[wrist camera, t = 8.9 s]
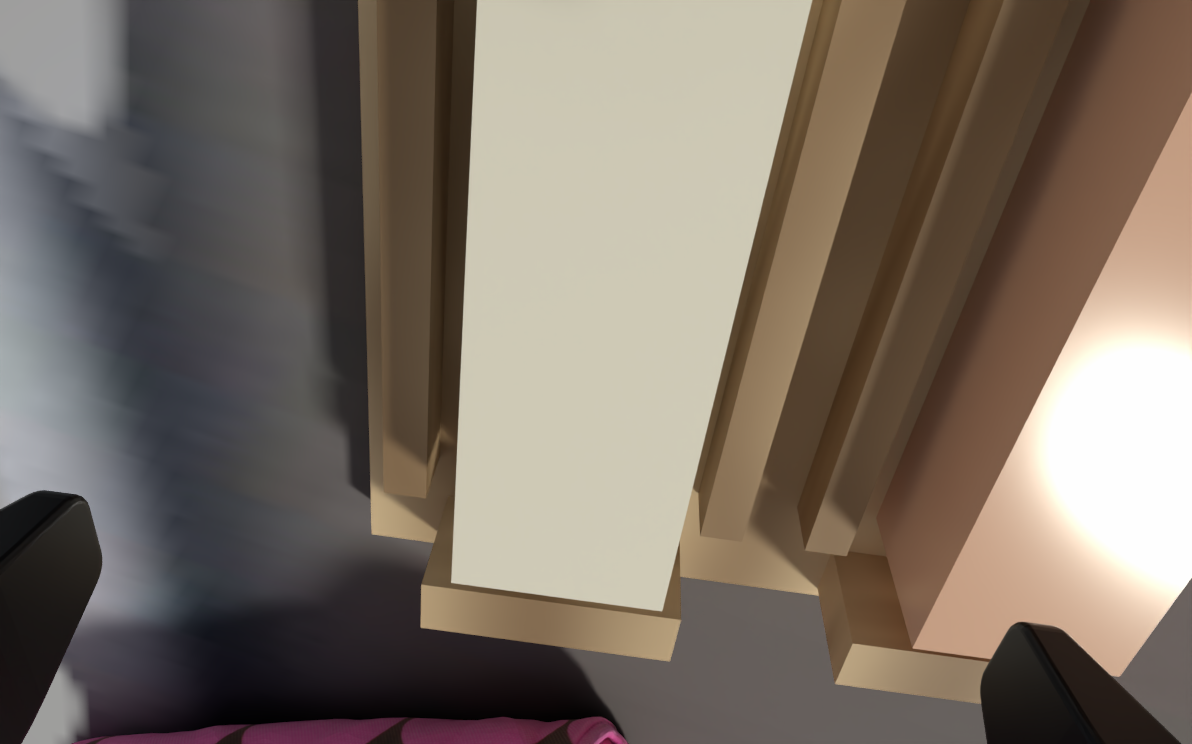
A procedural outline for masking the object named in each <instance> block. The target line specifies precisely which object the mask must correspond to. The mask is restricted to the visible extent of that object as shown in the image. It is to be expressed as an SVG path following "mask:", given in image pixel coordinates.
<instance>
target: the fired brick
mask: <svg viewBox="0 0 1192 744" xmlns="http://www.w3.org/2000/svg"><path fill="white" fill-rule="evenodd" d="M876 520H877V523H878V527H879V530H880V534H881V538H882V541H883V545H884V548H885V552H886V556H887V559H888V563H889V566H890V570H891V574H892V577H893V581H894V584H895V588H896V592H897V595H898V599H899V602H900V606H901V610H902V613H903V617H904V620H905V624H906V628H907V631H908V635H909V638H910V642H911V646H912V648H913V649H920V650H928V651H935V652H942V653H950V654H957V655H964V656H972V657H979V658H986V659H991V658H992V656H993V655H994V653H995V651H996V649H997V648H998V646H999V644H1000V643H1001V641H1002V639H1003V637H1004V636H1005V634H1006V632H1007V631H1008V629H1009V628H1010V627H1011V626H1012V625H1013V624H1015V623H1017V622H1030V623H1037V624H1045V625H1052V626H1056V627H1058V628H1060V629H1062V630H1064V631H1065V632H1066V633H1067V634H1068V635H1070V636H1071V637H1072V638H1073V639H1074V640H1075V641H1076V642H1077V643H1078V644H1079V645H1080V646H1081V647H1082V648H1083V649H1084V650H1085V651H1086V652H1087V653H1088V654H1089V655H1090V656H1091V657H1092V658H1093V659H1094V660H1095V661H1096V662H1097V663H1098V664H1099V665H1101V666H1102V667H1103V668H1104V669H1105V670H1106V671H1107V672H1108V673H1109V674H1110V675H1111V676H1118V677H1120V675H1121V674H1122V673H1123V671H1124V670H1125V669H1126V667H1127V666H1128V664H1129V663H1130V662H1131V660H1132V659H1133V657H1134V656H1135V655H1136V653H1137V652H1138V651H1139V649H1140V648H1141V646H1142V645H1143V644H1144V642H1145V641H1146V640H1147V638H1148V637H1149V635H1150V634H1151V633H1152V631H1153V630H1154V629H1155V627H1156V626H1157V624H1158V623H1159V622H1160V620H1161V619H1162V618H1163V616H1164V615H1165V613H1166V612H1167V611H1168V609H1169V608H1170V607H1171V605H1172V604H1173V602H1174V601H1175V600H1176V598H1177V597H1178V596H1179V594H1180V593H1181V591H1182V590H1183V589H1184V587H1185V586H1186V585H1187V583H1188V582H1189V580H1190V579H1191V578H1192V0H1090V2H1089V5H1088V7H1087V10H1086V12H1085V14H1084V17H1083V19H1082V22H1081V24H1080V26H1079V29H1078V31H1077V34H1076V36H1075V39H1074V41H1073V43H1072V46H1071V48H1070V51H1069V53H1068V55H1067V58H1066V60H1065V63H1064V65H1063V68H1062V70H1061V72H1060V75H1059V77H1058V80H1057V82H1056V84H1055V87H1054V89H1053V92H1052V94H1051V97H1050V99H1049V101H1048V104H1047V106H1046V109H1045V111H1044V113H1043V116H1042V118H1041V121H1040V123H1039V126H1038V128H1037V130H1036V133H1035V135H1034V138H1033V140H1032V142H1031V145H1030V147H1029V150H1028V152H1027V154H1026V157H1025V159H1024V162H1023V164H1022V167H1021V169H1020V171H1019V174H1018V176H1017V179H1016V181H1015V183H1014V186H1013V188H1012V191H1011V193H1010V196H1009V198H1008V200H1007V203H1006V205H1005V208H1004V210H1003V212H1002V215H1001V217H1000V220H999V222H998V225H997V227H996V229H995V232H994V234H993V237H992V239H991V241H990V244H989V246H988V249H987V251H986V254H985V256H984V258H983V261H982V263H981V266H980V268H979V270H978V273H977V275H976V278H975V280H974V283H973V285H972V287H971V290H970V292H969V295H968V297H967V299H966V302H965V304H964V307H963V309H962V312H961V314H960V316H959V319H958V321H957V324H956V326H955V328H954V331H953V333H952V336H951V338H950V341H949V343H948V345H947V348H946V350H945V353H944V355H943V357H942V360H941V362H940V365H939V367H938V370H937V372H936V374H935V377H934V379H933V382H932V384H931V386H930V389H929V391H928V394H927V396H926V399H925V401H924V403H923V406H922V408H921V411H920V413H919V415H918V418H917V420H916V423H915V425H914V428H913V430H912V432H911V435H910V437H909V440H908V442H907V444H906V447H905V449H904V452H903V454H902V457H901V459H900V461H899V464H898V466H897V469H896V471H895V473H894V476H893V478H892V481H891V483H890V486H889V488H888V490H887V493H886V495H885V498H884V500H883V502H882V505H881V507H880V510H879V512H878V515H877V517H876Z"/></svg>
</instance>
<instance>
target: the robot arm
mask: <svg viewBox="0 0 1192 744" xmlns="http://www.w3.org/2000/svg"><path fill="white" fill-rule="evenodd" d="M101 568H102V552H101V549H100V545H99V541H98V537H97V534H96V530H95V526H94V522H93V519H92V515H91V511H90V508H89V505H88V502H87V501H86V500H85V499H84V498H83V497H82V496H79V495H76V494H68V493H61V492H54V491H45V490H43V491H36V492H33V493H31V494H28V495H26V496H24V497H22V498H21V499H19V500H17V501H15V502H13V503H11V504H9V505H7V506H6V507H4V508H2V509H0V744H21V743H22V742H23V740H24V738H25V736H26V734H27V733H28V731H29V729H30V727H31V725H32V723H33V721H34V719H35V717H36V715H37V713H38V711H39V709H40V707H41V705H42V703H43V701H44V698H45V696H46V694H47V692H48V690H49V687H50V685H51V683H52V681H53V679H54V677H55V674H56V672H57V670H58V668H59V666H60V663H61V661H62V659H63V657H64V655H65V652H66V650H67V648H68V646H69V644H70V641H71V639H72V637H73V635H74V632H75V630H76V628H77V626H78V624H79V621H80V619H81V617H82V615H83V613H84V610H85V608H86V606H87V604H88V602H89V599H90V597H91V595H92V593H93V591H94V588H95V586H96V584H97V582H98V579H99V576H100V573H101ZM980 698H981V705H982V712H983V719H984V725H985V732H986V739H987V744H1181V743H1180V742H1179V741H1178V740H1177V739H1176V738H1175V737H1174V736H1173V735H1172V734H1171V733H1170V732H1169V731H1168V730H1167V729H1166V728H1165V727H1164V726H1162V725H1161V724H1160V723H1159V722H1158V721H1157V720H1156V719H1155V718H1154V717H1153V716H1152V715H1151V714H1150V713H1149V712H1148V711H1147V710H1146V709H1145V708H1144V707H1143V706H1142V705H1141V704H1140V703H1139V702H1138V701H1137V700H1136V699H1135V698H1134V697H1133V696H1132V695H1130V694H1129V693H1128V692H1127V691H1126V690H1125V689H1124V688H1123V687H1122V686H1121V685H1120V684H1119V683H1118V682H1117V681H1116V680H1115V679H1114V678H1113V677H1112V676H1111V675H1110V674H1109V673H1108V672H1107V671H1106V670H1105V669H1104V668H1103V667H1102V666H1101V665H1099V664H1098V663H1097V662H1096V661H1095V660H1094V659H1093V658H1092V657H1091V656H1090V655H1089V654H1088V653H1087V652H1086V651H1085V650H1084V649H1083V648H1082V647H1081V646H1080V645H1079V644H1078V643H1077V642H1076V641H1075V640H1074V639H1073V638H1072V637H1071V636H1070V635H1068V634H1067V633H1066V632H1065V631H1064V630H1062V629H1060V628H1058V627H1056V626H1052V625H1045V624H1037V623H1030V622H1017V623H1015V624H1013V625H1012V626H1011V627H1010V628H1009V629H1008V631H1007V632H1006V634H1005V636H1004V637H1003V639H1002V641H1001V643H1000V644H999V646H998V648H997V649H996V651H995V653H994V655H993V656H992V658H991V660H990V661H989V663H988V665H987V667H986V668H985V670H984V672H983V675H982V679H981V684H980Z"/></svg>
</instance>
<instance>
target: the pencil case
mask: <svg viewBox="0 0 1192 744" xmlns="http://www.w3.org/2000/svg"><path fill="white" fill-rule="evenodd" d="M72 744H628V743H627V741H626V740H625V739H624V737H623V736H622V735H621V734H619V733H618V732H617V729H616V727H615V725H614V724H613V723H612V722H610V721H608V720H607V719H605V718H603V717H589V718H583V719H573V720H559V721H554V722H543V721H538V720H530V719H513V718H508V717H496V718H488V719H482V720H451V719H429V718H407V717H406V718H378V719H368V720H353V719H327V720H311V721H295V722H280V723H268V724H252V725H219V726H212V727H207V728H203V729H199V730H195V731H183V732H174V733H147V734H135V735H119V736H104V737H98V738H91V739H87V740H83V741H78V742H75V743H72Z"/></svg>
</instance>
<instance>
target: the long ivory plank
mask: <svg viewBox="0 0 1192 744" xmlns="http://www.w3.org/2000/svg"><path fill="white" fill-rule="evenodd" d="M811 4H812V0H477V15H476V38H475V60H474V82H473V105H472V127H471V150H470V172H469V195H468V217H467V240H466V262H465V285H464V307H463V329H462V352H461V374H460V397H459V419H458V442H457V464H456V487H455V509H454V531H453V554H452V576H451V583H456V584H463V585H471V586H478V587H485V588H493V589H500V590H507V591H515V592H522V593H530V594H537V595H544V596H552V597H559V598H566V599H574V600H581V601H589V602H596V603H603V604H611V605H618V606H625V607H633V608H640V609H647V610H655V611H662V610H663V606H664V602H665V598H666V594H667V590H668V586H669V582H670V578H671V574H672V570H673V566H674V561H675V557H676V553H677V549H678V545H679V541H680V537H681V533H682V529H683V525H684V521H685V517H686V513H687V509H688V505H689V500H690V496H691V492H692V488H693V484H694V480H695V476H696V472H697V468H698V464H699V460H700V456H701V452H702V448H703V443H704V439H705V435H706V431H707V427H708V423H709V419H710V415H711V411H712V407H713V403H714V399H715V395H716V391H717V386H718V382H719V378H720V374H721V370H722V366H723V362H724V358H725V354H726V350H727V346H728V342H729V338H730V334H731V330H732V325H733V321H734V317H735V313H736V309H737V305H738V301H739V297H740V293H741V289H742V285H743V281H744V277H745V273H746V268H747V264H748V260H749V256H750V252H751V248H752V244H753V240H754V236H755V232H756V228H757V224H758V220H759V216H760V211H761V207H762V203H763V199H764V195H765V191H766V187H767V183H768V179H769V175H770V171H771V167H772V163H773V159H774V155H775V150H776V146H777V142H778V138H779V134H780V130H781V126H782V122H783V118H784V114H785V110H786V106H787V102H788V98H789V93H790V89H791V85H792V81H793V77H794V73H795V69H796V65H797V61H798V57H799V53H800V49H801V45H802V41H803V36H804V32H805V28H806V24H807V20H808V16H809V12H810V8H811Z"/></svg>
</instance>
